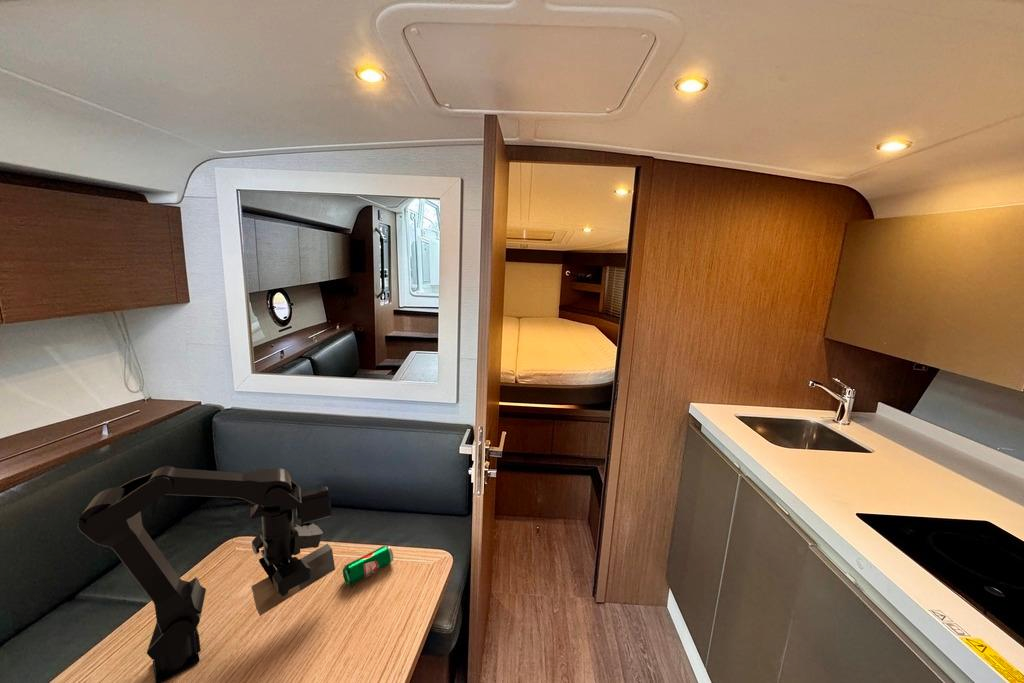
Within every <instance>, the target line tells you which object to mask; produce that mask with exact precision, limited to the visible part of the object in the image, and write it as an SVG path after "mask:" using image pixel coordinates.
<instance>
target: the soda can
mask: <svg viewBox="0 0 1024 683" xmlns="http://www.w3.org/2000/svg"><path fill="white" fill-rule="evenodd" d="M393 561H394V553H393V550H392V548H391V546H390V545H382V546H380V547H378V548H376V549H373V550H372V551H370V552H368V553H366V554H364V555H362V556H360V557H359V558H357V559H355V560H353V561H351V562H349V563H347V564H345V565H344V566H343V569H342V576H343V580H344V582H345V583H346V585H347V586H354V585H355V584H357V583H359V582H361V581H363V580H365V579H366V578H368V577H369V576H372V575H374V574H375V573H378V572H379V571H381V570H382V569H384V568H386V567H387V566H389V565H391V563H392V562H393Z"/></svg>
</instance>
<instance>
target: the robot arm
mask: <svg viewBox="0 0 1024 683" xmlns="http://www.w3.org/2000/svg"><path fill="white" fill-rule="evenodd" d="M164 496H188V497H189V496H190V497H209V498H210V497H213V498H236V499H241V500H245V501H246V502H249V503H251V504H253V506H252V507H251V508H250V517H249V518H250V519H251V520H253V519H258V518H261V528H262V532H260V534H259V535H256V536H255V537H254V539H252V541H251V547H252V548H251V549H252V551H253V553H254V554H255V555H258V554H260V553H261V556H262V557H260V558H259V559H258V562H259V564H260V565H261V567H262V568H263V570H264V571H265V573H266V574H267V577H268V578H269V579H270V581H271V583H272V584H273V585H274V587H275V588H276V590H277V592H278V593H280V595H281V596H282V597H283V596H285V595H287V594H288V591H289V590H290V589H292V588H294V587H296V586H298V585H299V584H301V583H303V582H305V581H307V580H309V579H310V577H311V568H310V567H309V566H308V564H307V563H306V562H305V560H302V559H301V558H298V557H297V555H300V554H301V550H305V549H312V548H313V549H318V548H320V547H319V546H320V543H321V540H322V537H323V535H324V532H323V530H322V529H321V528H320V527H319V526H318V525H317V524H315V523H314V522H315V521H319V520H323V519H327V518H330V517H332V505H331V501H330V495H329V487H328V486H322V487H319V488H316V489H311V490H308V491H307V490H306V491H303V492H302V490H301V486H300V485H298V484H297V483H296V482H295V481H294V480H293V479H291V475H290V473H289V472H288V470H286V469H284V468H279V467H276V468H264V469H262V468H261V469H257V470H254V471H251V472H235V471H233V472H232V471H219V470H209V469H208V470H205V469H191V468H177V467H174V466H171V465H167V466H162V467H158V468H157V469H155V470H154V471H152V472H150V473H148V474H144V475H142V476H139V477H136V478H134V479H131V480H130V481H128V482H126V483H124V484H122V485H120V486H117V487H110V488H107V489H104V490H102V491H100V492H98V493H97V494H96V495H95V496H94V497H93V499H92V500H91V501H90V502H89V504H88V506H87V507H86V508H85V509H84V511H83V512H81V515H80V516H79V518H78V520H77V523H76V527H77V530H78V531H79V532H80V533H81V534H83V535H84V536H85V537H86V538H88V539H89V540H90V541H91V542H93V543H94V544H97V545H99V546H103V547H107V548H110V549H111V550H112V551H113V552H114V553H115V554H116V556H117V557H118V558H119V560H120V561H121V562H122V563H123V565H124V566H125V567H126V569H127V570H128V571H129V573H130V574H131V575H132V576H133V578H134V579H135V580H136V582H137V583H138V584H139V586H140V587H141V588H142V589H143V591H144V593H145V594H146V595H147V596H148V597H149V599H150V600H151V601H152V603H153V605H154V609H155V610H154V611H155V618H156V619H155V620H156V623H155V626H154V629H153V632H152V636H151V638H150V642H149V644H148V647H147V651H146V655H148V656H149V658H150V659H151V660H152V667H153V672H154V674H153V675H154V679H155V683H165V682H166V681H168V680H169V679H171V678H172V679H173V677H175V676H177V675H179V674H181V673H182V672H184V671H186V670H189V669H191V668H192V667H193V666H194V665H197V664H198V663H199V662H200V656H199V653H200V652H201V642H200V634H199V630H198V626H199V624H200V622H201V616H202V612H203V607H204V602H205V597H206V596H205V595H206V592H207V588H206V587H203V586H202V584H201V583H200V580H199V578H198V577H194V578H193V579H191V580H190V581H187V580H183V579H182V578H180V577H179V575H178V574H177V572H176V571H175V570H174V568H173V567H172V565H171V564H170V563H169V561H168V560H167V558H166V557H165V556H164V554H163V552H162V551H161V550H160V548H159V547H158V545H157V544H156V542H155V541H154V540H153V539H152V537H151V536H150V534H149V533H148V532H147V529H145V527H144V525H143V520H142V513H141V512H142V510H144V509H145V508H147V507H148V506H150V505H151V504H152V503H154V502H155V501H157V500H159V499H160V498H162V497H164ZM294 510H296V511H295V513H296V520H297V523H296V524H295V525H294ZM261 548H263V549H262V550H260V549H261Z"/></svg>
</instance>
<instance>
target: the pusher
mask: <svg viewBox="0 0 1024 683" xmlns="http://www.w3.org/2000/svg"><path fill="white" fill-rule="evenodd" d="M300 559H302V560H305V562H306V563H307V564H308V566H309V567H310V568H311V577H310V579H309V580H307V581H305V582H303V583H301V584H299V585H298V586H296V587H294V588H292V589H290V590H289V591H288V594H287V595H285V596H283V597H282V596H281V595H280V593H278V592H277V590H276V588H275V587H274V585H273V584H272V583H271V581H270V579H269V578H268V576H267V577H266V578H263V579H261V580H260V581H258V582H256V583H255V584H253V585H251V586H250V587H251V590H252V595H253V600H254V603H255V608H256V611H257V613H258V615H259V617H260V616H263V615H264V614H266V613H267V612H269V611H271V610H272V609H273V608H275V607H277V606H278V605H280V604H282V603H283V602H285V601H287V600H289V599H290V598H292V597H293V596H295V595H297V594H298V593H300V592H302V591H303V590H304V589H307V587H309V586H311V585H313V584H315V583H316V582H318V581H320V579H322V578H325V576H327V575H329V574H330V573H332V572H333V571H335V570H336V566H335V559H334V553H333V549H332V547H331V546H330V544H328V543H326V544H324V545H322V546H321V547H318V548H316V549H315V550H314V551H312V552H310V553H308V554H306V555H304V556H303V557H301V558H300Z"/></svg>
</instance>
